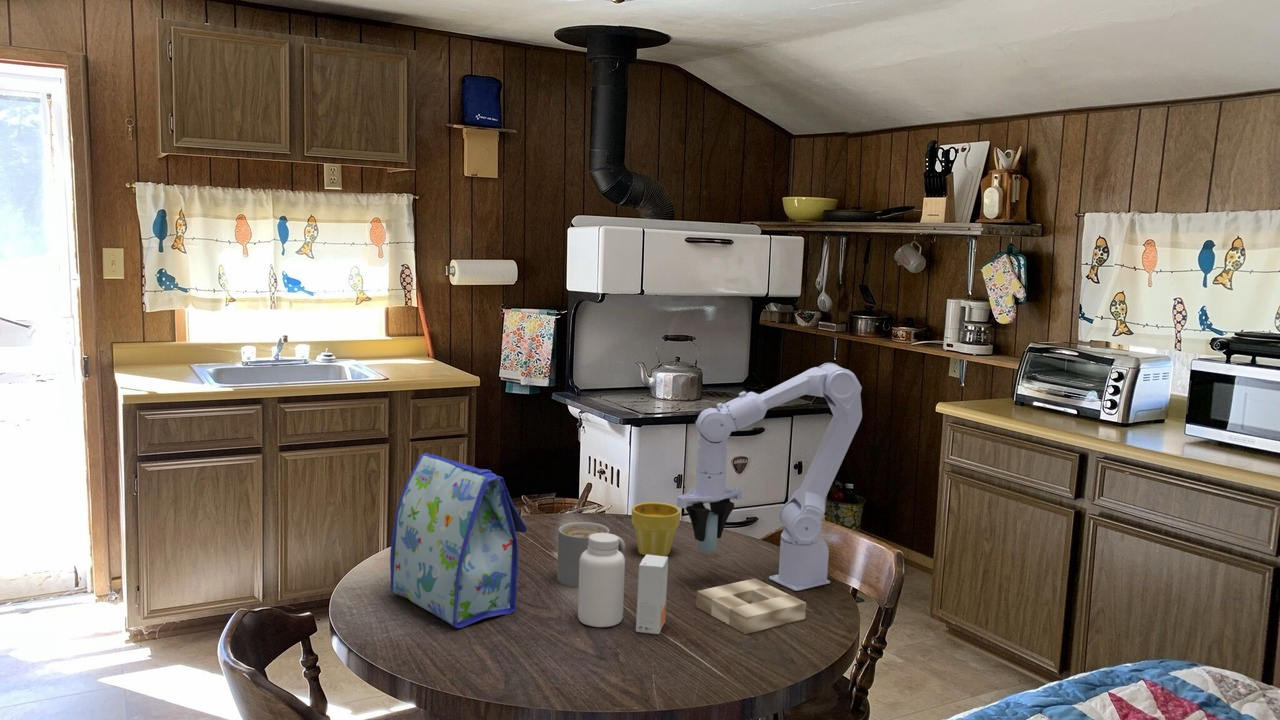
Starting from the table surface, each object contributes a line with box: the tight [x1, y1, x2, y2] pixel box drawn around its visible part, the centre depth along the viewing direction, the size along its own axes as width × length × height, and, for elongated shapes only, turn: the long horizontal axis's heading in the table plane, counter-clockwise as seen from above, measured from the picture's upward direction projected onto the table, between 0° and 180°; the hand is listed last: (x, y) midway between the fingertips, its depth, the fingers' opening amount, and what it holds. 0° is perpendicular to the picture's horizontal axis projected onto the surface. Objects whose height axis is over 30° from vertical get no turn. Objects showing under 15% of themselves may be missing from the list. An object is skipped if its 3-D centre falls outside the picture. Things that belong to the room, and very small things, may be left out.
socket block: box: [695, 577, 807, 635], centre depth 174 cm, size 14×14×3 cm
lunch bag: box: [389, 452, 528, 629], centre depth 171 cm, size 22×17×26 cm
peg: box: [697, 511, 718, 553], centre depth 187 cm, size 4×4×7 cm
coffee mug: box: [556, 521, 626, 589], centre depth 187 cm, size 13×10×10 cm
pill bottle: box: [577, 532, 626, 628], centre depth 167 cm, size 8×8×15 cm
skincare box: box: [635, 554, 669, 635], centre depth 165 cm, size 6×4×12 cm
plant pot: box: [631, 501, 681, 557], centre depth 204 cm, size 10×10×10 cm
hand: (708, 538), depth 187 cm, fingers closed on peg, 4 cm apart
